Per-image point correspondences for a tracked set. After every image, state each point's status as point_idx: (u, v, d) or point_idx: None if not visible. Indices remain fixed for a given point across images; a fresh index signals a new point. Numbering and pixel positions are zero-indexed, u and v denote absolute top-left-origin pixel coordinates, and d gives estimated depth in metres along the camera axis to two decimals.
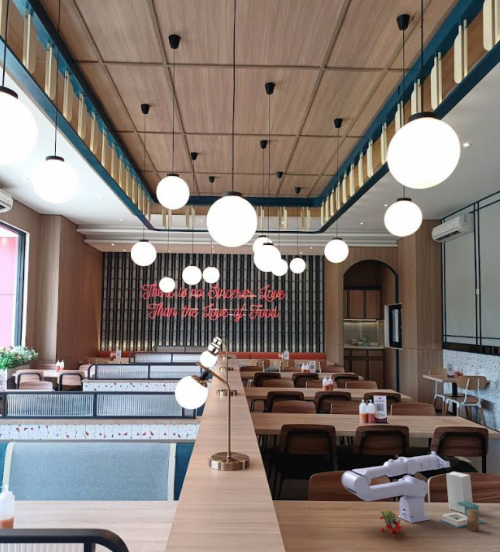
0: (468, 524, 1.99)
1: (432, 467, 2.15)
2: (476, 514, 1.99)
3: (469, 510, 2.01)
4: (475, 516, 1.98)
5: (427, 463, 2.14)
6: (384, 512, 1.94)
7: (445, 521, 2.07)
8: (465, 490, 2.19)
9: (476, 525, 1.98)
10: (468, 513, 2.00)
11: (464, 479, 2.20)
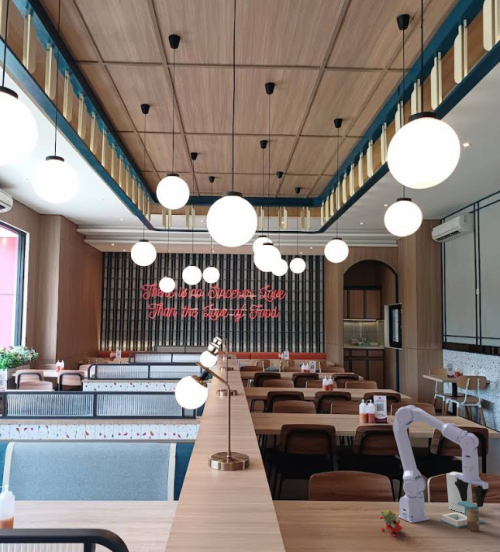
0: (468, 524, 1.99)
1: (472, 472, 1.99)
2: (476, 515, 1.99)
3: (469, 510, 2.01)
4: (475, 516, 1.98)
5: (469, 465, 2.00)
6: (384, 512, 1.94)
7: (445, 521, 2.07)
8: None
9: (476, 525, 1.98)
10: (468, 513, 2.00)
11: None
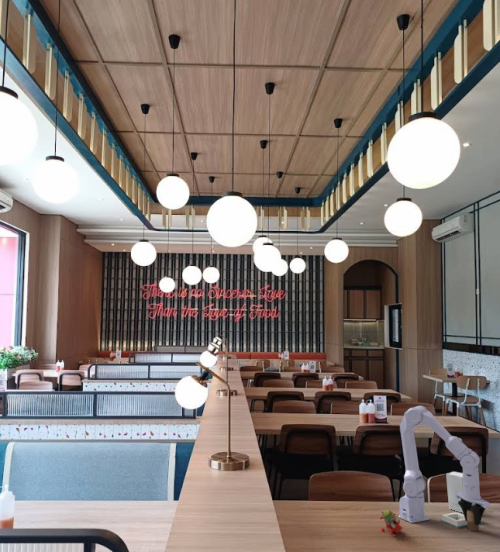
0: (468, 524, 1.99)
1: (473, 491, 1.99)
2: None
3: (469, 510, 2.01)
4: None
5: (470, 484, 1.99)
6: (384, 512, 1.94)
7: (445, 521, 2.07)
8: None
9: (476, 525, 1.98)
10: (468, 513, 2.00)
11: None
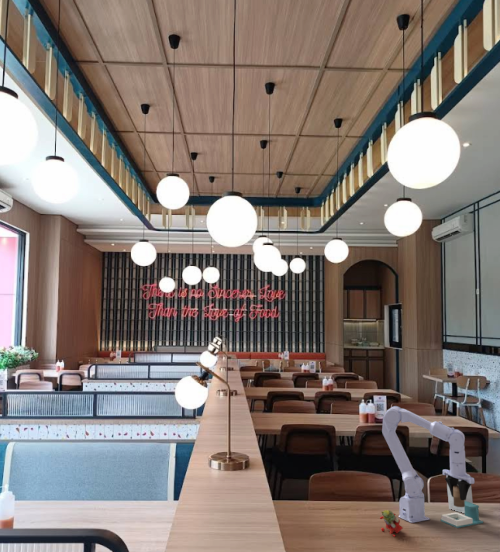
0: (454, 500, 2.06)
1: (459, 468, 2.05)
2: None
3: (455, 486, 2.07)
4: None
5: (458, 461, 2.06)
6: (384, 512, 1.94)
7: (445, 521, 2.07)
8: None
9: (462, 500, 2.05)
10: (454, 489, 2.06)
11: None
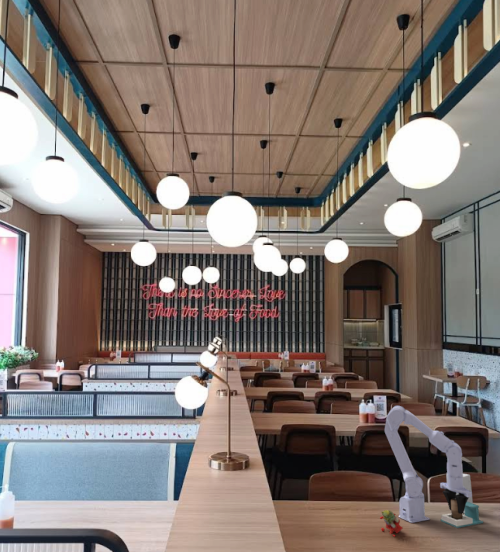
0: (452, 513, 2.07)
1: (456, 481, 2.06)
2: None
3: (453, 500, 2.08)
4: None
5: (456, 474, 2.06)
6: (384, 512, 1.94)
7: (445, 521, 2.07)
8: None
9: None
10: (452, 503, 2.07)
11: (464, 479, 2.20)
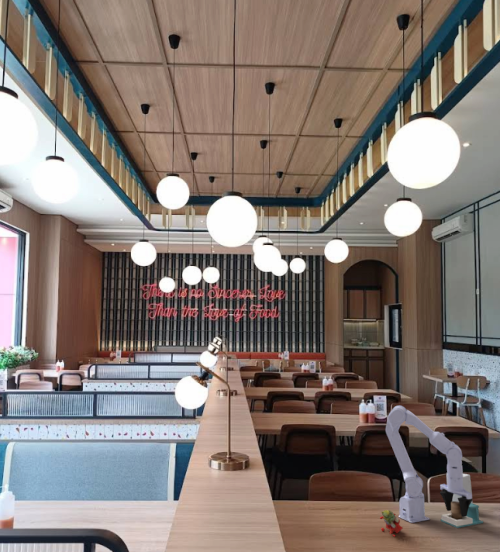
0: (452, 516, 2.07)
1: (456, 483, 2.06)
2: None
3: (453, 502, 2.08)
4: (459, 508, 2.06)
5: (456, 476, 2.06)
6: (384, 512, 1.94)
7: (445, 521, 2.07)
8: None
9: (459, 516, 2.05)
10: (452, 505, 2.07)
11: (464, 479, 2.20)
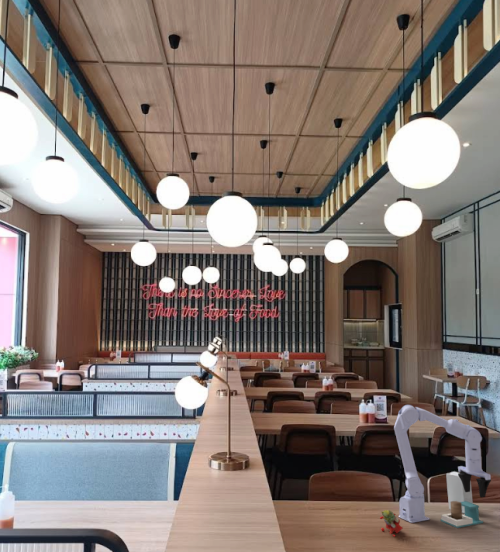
0: (452, 516, 2.07)
1: (475, 464, 2.08)
2: (460, 506, 2.06)
3: (453, 502, 2.08)
4: (458, 508, 2.06)
5: (476, 457, 2.08)
6: (384, 512, 1.94)
7: (445, 521, 2.07)
8: None
9: (459, 516, 2.05)
10: (452, 506, 2.07)
11: None
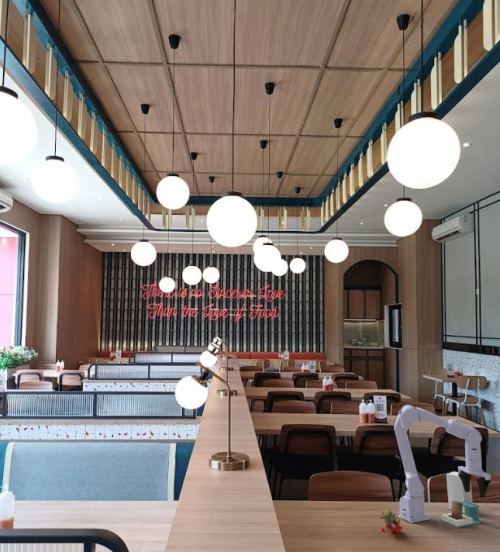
0: (452, 515, 2.07)
1: (475, 464, 2.08)
2: (460, 507, 2.06)
3: (454, 502, 2.08)
4: (459, 508, 2.06)
5: (476, 457, 2.08)
6: (384, 512, 1.94)
7: (445, 521, 2.07)
8: None
9: (459, 516, 2.05)
10: (452, 505, 2.07)
11: None
